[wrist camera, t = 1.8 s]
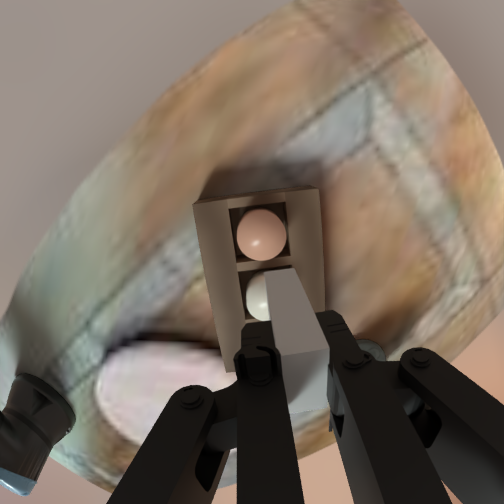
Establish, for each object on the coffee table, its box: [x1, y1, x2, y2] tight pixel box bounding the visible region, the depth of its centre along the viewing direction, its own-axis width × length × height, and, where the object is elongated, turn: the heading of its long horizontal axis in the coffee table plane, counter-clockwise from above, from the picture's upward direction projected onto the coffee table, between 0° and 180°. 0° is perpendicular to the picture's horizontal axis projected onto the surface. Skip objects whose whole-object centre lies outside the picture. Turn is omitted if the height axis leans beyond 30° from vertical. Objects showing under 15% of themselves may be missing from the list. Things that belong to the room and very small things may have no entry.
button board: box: [192, 186, 325, 373], centre depth 31 cm, size 12×20×4 cm, turn 7°
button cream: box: [246, 270, 273, 321], centre depth 29 cm, size 4×4×3 cm
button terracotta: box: [237, 207, 286, 261], centre depth 27 cm, size 4×4×3 cm
